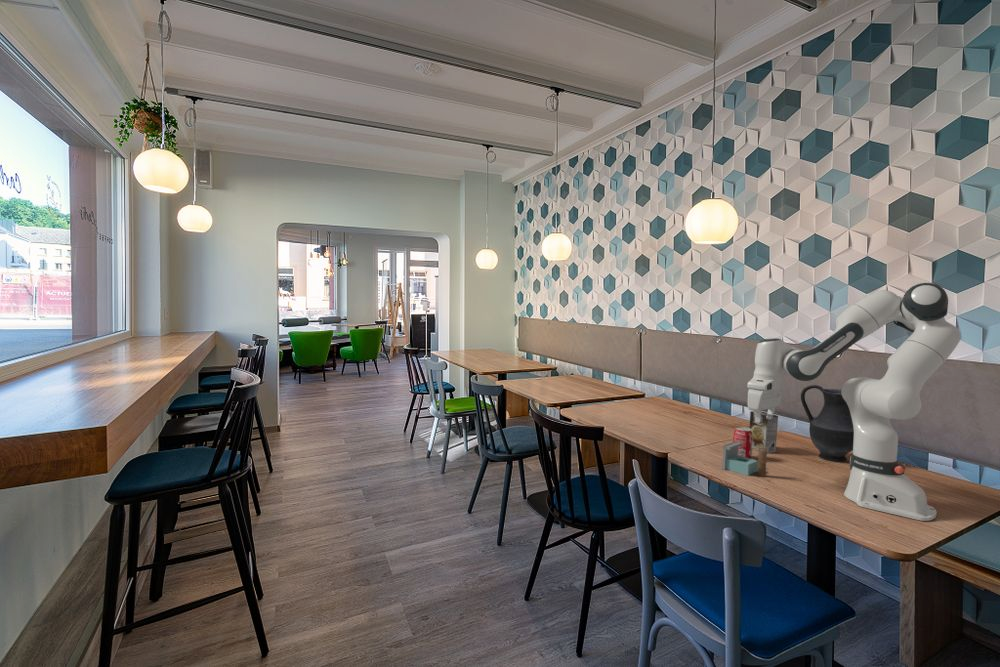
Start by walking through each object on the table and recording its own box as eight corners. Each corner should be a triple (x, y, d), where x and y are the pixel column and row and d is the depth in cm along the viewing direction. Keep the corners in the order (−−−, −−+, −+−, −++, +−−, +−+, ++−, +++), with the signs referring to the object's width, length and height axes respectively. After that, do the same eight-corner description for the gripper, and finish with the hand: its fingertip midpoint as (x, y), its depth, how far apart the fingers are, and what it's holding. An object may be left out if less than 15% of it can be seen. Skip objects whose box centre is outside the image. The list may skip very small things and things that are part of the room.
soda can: (747, 455, 195) (748, 427, 194) (754, 460, 188) (756, 431, 187) (729, 454, 196) (731, 426, 195) (736, 459, 189) (738, 430, 188)
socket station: (758, 470, 177) (759, 447, 176) (746, 476, 170) (747, 451, 170) (734, 464, 184) (735, 441, 183) (722, 469, 177) (723, 445, 177)
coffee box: (747, 447, 207) (749, 411, 206) (759, 446, 209) (760, 410, 208) (764, 453, 199) (766, 415, 198) (776, 452, 200) (778, 415, 200)
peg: (766, 476, 171) (768, 449, 170) (763, 477, 169) (765, 450, 169) (759, 474, 173) (760, 447, 172) (755, 475, 171) (757, 448, 171)
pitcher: (860, 468, 182) (866, 392, 180) (797, 458, 192) (801, 386, 191) (855, 457, 196) (860, 386, 195) (796, 448, 207) (800, 381, 205)
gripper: (769, 379, 178) (766, 415, 179) (745, 383, 166) (742, 421, 166) (787, 382, 173) (784, 419, 174) (764, 386, 161) (760, 425, 161)
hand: (763, 420), depth 170 cm, fingers open, 8 cm apart
